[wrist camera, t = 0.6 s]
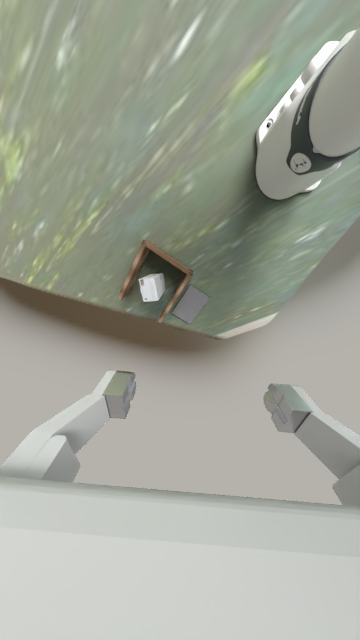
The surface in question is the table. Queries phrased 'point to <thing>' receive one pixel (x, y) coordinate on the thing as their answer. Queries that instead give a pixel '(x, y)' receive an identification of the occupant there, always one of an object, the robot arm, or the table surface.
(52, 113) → the table surface
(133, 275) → the walnut u-shaped frame
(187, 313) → the charcoal mat
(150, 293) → the skincare box
